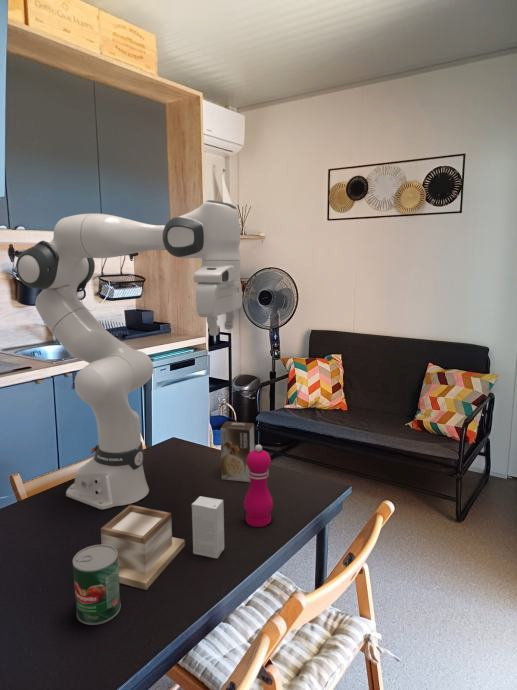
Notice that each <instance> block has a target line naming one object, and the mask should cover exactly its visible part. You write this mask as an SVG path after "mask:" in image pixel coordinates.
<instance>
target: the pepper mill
mask: <svg viewBox="0 0 517 690" xmlns="http://www.w3.org/2000/svg"><path fill="white" fill-rule="evenodd" d="M271 459H272V458H271V456H270V453H268V452H267V451H265V450H264V449H263V446H262V445H261V444H256V445H254V450H253V451H251V452H250V453H249V454H248V456H247V459H246V464H247V466H248V468H249V470H248V472H249V473H248V475H249V477H250V482H249V484H250V485H249V487H248V488H249V489H248V491H247V492H246V494H245V497H244V500H243V509H244V510H245V511H246V512H245V522H246V524H248V525H249V526H251V527H255V528H262V527H266V526H268V525H269V524H270V523H271V521H272V513H271V511H272V510H273V506H274V502H273V497H272V495H271V493H270V490H269V488H268V484H267V483H268V482H267V481H268V480H267V479H268V477H269V476H270V474H269V472H270V471H269V467H271V462H272V460H271ZM267 524H268V525H267Z"/></svg>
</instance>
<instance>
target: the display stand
mask: <svg viewBox="0 0 517 690" xmlns="http://www.w3.org/2000/svg"><path fill="white" fill-rule="evenodd" d="M172 531H173V529H172V512H167V511H163V510H160V509H159V510H158V509H154V508H153V509H152V508H147V507H142V506H140V505H139V506H138V505H134V504H128V506H126V507H125V508H124V509H122V511H121V512H119V513H118V514H117V515H116V516H114V517H113V518H112V519H110V521H108V522H107V523H106V524H104V525H103V526H102V527H101V528H100V541H101V542H100V543H101V544H100V545H109V546H112V547H114V548H115V549H116V550H117V552H118V569H119V571H118V572H119V584H123V585H126V586H130V587H132V588H133V587H134V588H137V589H141V590H145V591H146V590H148V589H149V588H150V587H151V586H152V585H153V583H154V582H155V581H156V580H157V578H158V577H159V576H160V574H162V572H163V571H164V570H165V569H166V568H167V567H168V566H169V564H170V563H171V562H172V561H173V560H174V559H175V558H176V557H177V555H179V553H180V552H181V551H182V549H183V548H184V547H185V545H186V544H185V543H186V540H185V539H183V538H177V537H173V532H172Z"/></svg>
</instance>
